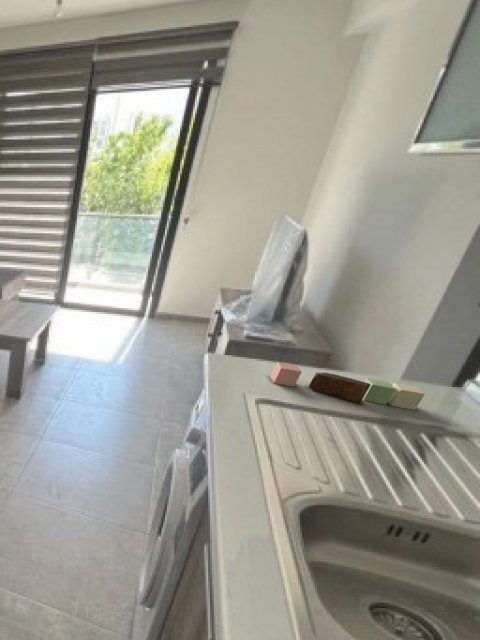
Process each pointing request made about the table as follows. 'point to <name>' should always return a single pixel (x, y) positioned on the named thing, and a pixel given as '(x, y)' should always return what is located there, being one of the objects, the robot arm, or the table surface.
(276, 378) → the cube rose
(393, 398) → the cube cream
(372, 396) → the cube sage
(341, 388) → the brick
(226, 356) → the table surface
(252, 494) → the table surface
